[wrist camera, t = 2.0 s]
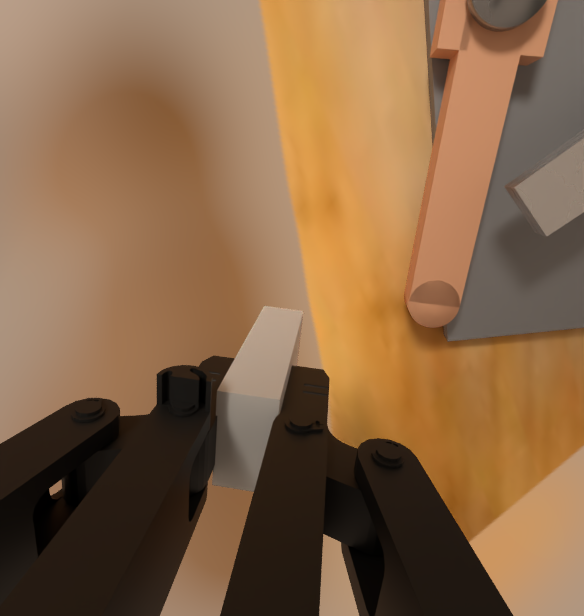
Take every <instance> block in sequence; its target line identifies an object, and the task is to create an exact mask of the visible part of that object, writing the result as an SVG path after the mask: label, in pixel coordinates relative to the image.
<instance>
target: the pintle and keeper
mask: <svg viewBox="0 0 584 616" xmlns="http://www.w3.org/2000/svg"><path fill="white" fill-rule="evenodd" d="M546 1H547V0H467V5H468V9H469V11H470V14H471V15H472V17H473V19H474V20H475V21H476V22H477V23H478V24H479V25H480V26H482V27H483V28H485V29H487V30H490V31H495V32H503V31H509V30H512V29H514V28H517V27H519V26H520V25H522V24H523V23H525V22H526V21H527V20H529V19H530V18H531V17H533V16H534V15H535V14H536V13H537V12H538V11H539V10H540V9H541V8H542V6H543V5H544V4H545V2H546ZM504 187H505V189H506V190H507V192H508V193H509V195H510V196H511V198H512V199H513V201H514V202H515V204H516V205H517V207H518V208H519V210H520V211H521V213H522V214H523V216H524V217H525V218H526V220H527V221H528V223H529V224H530V226H531V227H532V229H533V230H534V232H535V233H538V234H541V235H544V236H549V235H550V234H552V233H553V232H555V231H556V230H558V229H559V228H561V227H562V226H564V225H565V224H567V223H568V222H570V221H571V220H573V219H574V218H576V217H577V216H579V215H580V214H582V213H583V212H584V129H583V130H582V131H580V132H579V133H577V134H576V135H575V136H573V137H572V138H570V139H569V140H568V141H566V142H565V143H563V144H562V145H561V146H559V147H558V148H557V149H555V150H554V151H552V152H551V153H550V154H548V155H547V156H545V157H544V158H543V159H541V160H540V161H538V162H537V163H536V164H534V165H533V166H531V167H530V168H529V169H527V170H526V171H525V172H523V173H522V174H520V175H519V176H518V177H516V178H515V179H513V180H512V181H511V182H509V183H508V184H506V185H505V186H504Z"/></svg>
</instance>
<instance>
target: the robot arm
mask: <svg viewBox="0 0 584 616" xmlns="http://www.w3.org/2000/svg"><path fill="white" fill-rule="evenodd" d="M302 318H303V311H300V310H292V309H284V308H276V307H269V306H264V308H263V309H262V311H261V313H260V315H259V316H258V318H257V320H256V322H255V324H254V326H253V327H252V329H251V331H250V332H249V334H248V336H247V338H246V340H245V341H244V343H243V345H242V347H241V349H240V350H239V352H238V354H237V356H236V357H235V359H234V358H227V357H219V356H212V357H210V358H208V359H206V360H204V361H202V363H201V364H200V365H199V367H196V366H190V365H181V366H173V367H169V368H166V369H164V370H162V371H160V372H159V373H158V374H157V405H156V406H155V408H154V409H153V410H152V411H151V413H150V414H148V415H137V416H120V408H119V407H118V405H117V404H116V403H115V402H113V401H111V400H108V399H102V398H87V399H83V400H79V401H75V402H73V403H71V404H69V405H66V406H65V407H63V408H61V409H60V410H58V411H56V412H54V413H53V414H51V415H49V416H47V417H46V418H44V419H43V420H41V421H39V422H37V423H35V424H34V425H32V426H30V427H28V428H27V429H25V430H23V431H22V432H20V433H18V434H16V435H15V436H13V437H11V438H10V439H8V440H6V441H5V442H3V443H1V444H0V616H160V614H161V611H162V608H163V606H164V604H165V601H166V599H167V596H168V594H169V591H170V589H171V586H172V584H173V581H174V579H175V576H176V574H177V571H178V569H179V566H180V564H181V561H182V559H183V557H184V554H185V552H186V549H187V547H188V544H189V541H190V539H191V537H192V534H193V532H194V529H195V527H196V524H197V522H198V519H199V517H200V514H201V512H202V509H203V507H204V504H205V502H206V498H207V485H208V480H209V477H210V475H211V473H212V470H213V480H212V485H216V486H222V487H228V488H234V489H240V490H246V491H253V492H254V494H253V497H252V501H251V505H250V508H249V512H248V515H247V519H246V523H245V527H244V530H243V534H242V537H241V541H240V545H239V548H238V552H237V556H236V559H235V563H234V567H233V571H232V574H231V578H230V581H229V585H228V589H227V592H226V596H225V600H224V604H223V607H222V611H221V614H220V616H319V605H320V586H321V566H322V565H321V564H322V546H323V534H325V535H327V536H329V537H331V538H334V539H336V540H338V541H340V542H341V547H342V554H343V557H344V561H345V564H346V568H347V572H348V575H349V579H350V583H351V586H352V590H353V594H354V597H355V601H356V605H357V609H358V612H359V616H513V614H512V613H511V611H510V609H509V608H508V606H507V604H506V603H505V601H504V600H503V598H502V596H501V595H500V593H499V591H498V590H497V588H496V586H495V585H494V583H493V582H492V580H491V579H490V577H489V575H488V573H487V572H486V570H485V569H484V567H483V565H482V564H481V562H480V560H479V559H478V557H477V556H476V554H475V552H474V550H473V549H472V547H471V546H470V544H469V542H468V541H467V539H466V537H465V536H464V534H463V532H462V531H461V529H460V528H459V526H458V524H457V523H456V521H455V519H454V518H453V516H452V514H451V513H450V511H449V510H448V508H447V506H446V505H445V503H444V501H443V500H442V498H441V496H440V495H439V493H438V492H437V490H436V488H435V487H434V485H433V483H432V482H431V480H430V478H429V477H428V475H427V474H426V472H425V470H424V469H423V467H422V465H421V464H420V462H419V460H418V459H417V457H416V456H415V455H414V454H413V453H412V452H411V450H410V449H408V448H406V447H405V446H403V445H402V444H400V443H397V442H395V441H392V440H388V439H379V438H377V439H369V440H367V441H365V442H363V443H361V444H360V446H359V448H358V449H357V448H354V447H351V446H349V445H347V444H344V443H342V442H341V441H339V440H338V439H336V438H335V437H334V436H333V435H332V434H331V433H330V431H329V429H328V426H327V414H328V395H329V377H328V376H327V374H326V373H325V371H324V370H322V369H314V368H307V367H300V366H297V361H298V353H299V344H300V336H301V327H302ZM61 479H62V489H61V490H60V491H58V492H57V493H55V494H53V495H52V496H50V493H49V488H50V487H52V486H53V485H54V484H56V483H57V482H58V481H59V480H61Z"/></svg>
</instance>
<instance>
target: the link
mask: <svg viewBox="0 0 584 616" xmlns="http://www.w3.org/2000/svg"><path fill="white" fill-rule="evenodd" d="M557 2H558V0H547V1H546V2H545V4H544V5H543V6H542V8H541V9H540V10H539V11H538V12H537V13H536V14H535V15H534V16H533V17H531V18H530V19H529V20H527V21H526V22H525V23H523V24H522V25H520V26H519V27H517V28H514V29H512V30H509V31H503V32H495V31H490V30H487V29H485V28H483V27H482V26H480V25H479V24H478V23H477V22H476V21H475V20H474V19H473V17H472V15H471V14H470V11H469V9H468V5H467V0H440V2H439V8H438V13H437V19H436V24H435V30H434V35H433V41H432V46H431V52H430V58H441V59H450V61H449V66H448V71H447V76H446V82H445V87H444V92H443V97H442V102H441V107H440V112H439V118H438V123H437V128H436V133H435V138H434V143H433V148H432V154H431V159H430V164H429V169H428V174H427V179H426V184H425V190H424V195H423V200H422V205H421V210H420V215H419V220H418V226H417V231H416V236H415V241H414V246H413V251H412V256H411V262H410V267H409V272H408V277H407V282H406V287H405V293H404V299H405V303H406V305H407V308H408V310H409V312H410V314H411V316H412V318H413V319H414V320H415V321H416V322H417V323H418V324H420V325H422V326H425V327H430V328H436V327H441V326H443V325H446V324H447V323H449V322H450V321H452V320H453V319H454V317H455V316H456V315H457V313H458V311H459V307H460V303H461V299H462V295H463V291H464V287H465V283H466V278H467V274H468V270H469V266H470V262H471V258H472V254H473V249H474V245H475V241H476V237H477V233H478V229H479V225H480V220H481V216H482V212H483V208H484V204H485V200H486V196H487V192H488V187H489V183H490V179H491V175H492V171H493V167H494V163H495V158H496V154H497V150H498V146H499V142H500V138H501V134H502V129H503V125H504V121H505V117H506V113H507V109H508V105H509V101H510V96H511V92H512V88H513V84H514V80H515V76H516V72H517V67H518V65H524V66H527V65H529V64H531V63H533V62H535V61H537V60H539V59H540V58H542V57H543V56H544V52H545V48H546V45H547V41H548V37H549V33H550V29H551V25H552V21H553V17H554V13H555V10H556V6H557Z"/></svg>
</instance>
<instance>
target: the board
mask: <svg viewBox="0 0 584 616" xmlns="http://www.w3.org/2000/svg"><path fill="white" fill-rule="evenodd" d="M439 2H440V0H424V8H425V25H426V42H427V58H428V75H429V92H430V109H431V126H432V143H434V138H435V133H436V128H437V123H438V118H439V112H440V107H441V102H442V97H443V92H444V87H445V82H446V76H447V71H448V66H449V61H450V59H441V58H430V52H431V46H432V41H433V35H434V30H435V24H436V19H437V13H438V8H439ZM583 129H584V0H558V2H557V6H556V10H555V13H554V17H553V21H552V25H551V29H550V33H549V37H548V41H547V45H546V48H545V52H544V56H543V57H542V58H540V59H539V60H537V61H535V62H533V63H531V64H529V65H527V66H524V65H518V67H517V72H516V76H515V80H514V84H513V88H512V92H511V96H510V101H509V105H508V109H507V113H506V117H505V121H504V125H503V129H502V134H501V138H500V142H499V146H498V150H497V154H496V158H495V163H494V167H493V171H492V175H491V179H490V183H489V187H488V192H487V196H486V200H485V204H484V208H483V212H482V216H481V220H480V225H479V229H478V233H477V237H476V241H475V245H474V249H473V254H472V258H471V262H470V266H469V270H468V274H467V278H466V283H465V287H464V291H463V295H462V299H461V303H460V307H459V311H458V313H457V315H456V316H455V317H454V319H453V320H452V321H450V322H449V323H447V324H446V325H443V328H444V336H445V337H446V339H447V341H458V340H468V339H477V338H487V337H497V336H507V335H517V334H526V333H536V332H546V331H556V330H566V329H576V328H584V212H583V213H582V214H580V215H579V216H577V217H576V218H574V219H573V220H571V221H570V222H568V223H567V224H565V225H564V226H562V227H561V228H559V229H558V230H556V231H555V232H553V233H552V234H550V235H549V236H544V235H541V234H538V233H535V232H534V230H533V229H532V227H531V226H530V224H529V223H528V221H527V220H526V218H525V217H524V216H523V214H522V213H521V211H520V210H519V208H518V207H517V205H516V204H515V202H514V201H513V199H512V198H511V196H510V195H509V193H508V192H507V190H506V189H505V187H504V186H505V185H506V184H508V183H509V182H511V181H512V180H513V179H515V178H516V177H518V176H519V175H520V174H522V173H523V172H525V171H526V170H527V169H529V168H530V167H531V166H533V165H534V164H536V163H537V162H538V161H540V160H541V159H543V158H544V157H545V156H547V155H548V154H550V153H551V152H552V151H554V150H555V149H557V148H558V147H559V146H561V145H562V144H563V143H565V142H566V141H568V140H569V139H570V138H572V137H573V136H575V135H576V134H577V133H579V132H580V131H582V130H583Z"/></svg>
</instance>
